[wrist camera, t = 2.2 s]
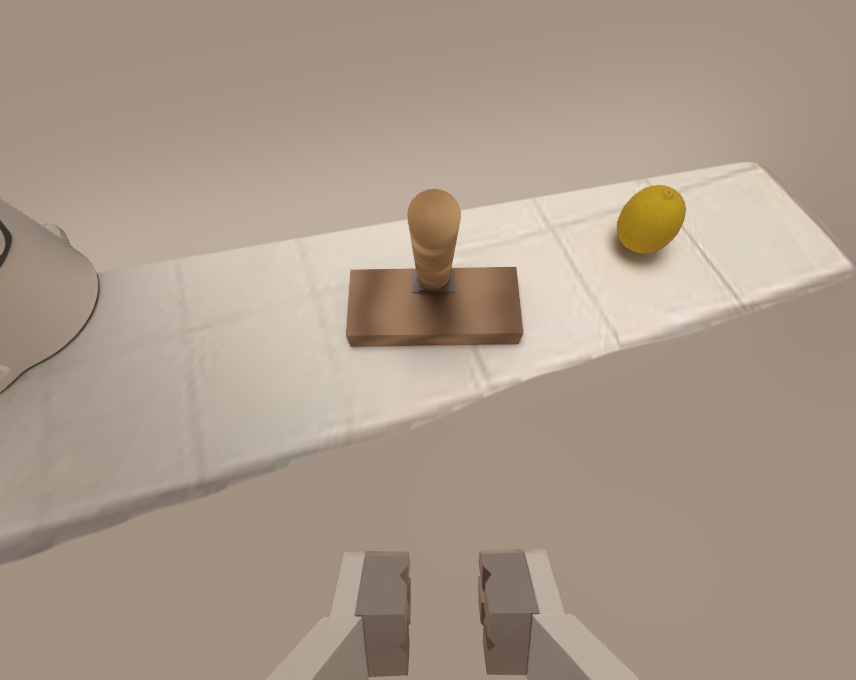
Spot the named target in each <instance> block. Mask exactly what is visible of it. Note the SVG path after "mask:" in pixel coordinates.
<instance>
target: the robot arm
mask: <svg viewBox="0 0 856 680" xmlns="http://www.w3.org/2000/svg"><path fill="white" fill-rule="evenodd" d="M97 294H98V278H97V274H96V271H95V269H94V267H93V265H92V263H91V262H90V261H89V260H88V259H87V258H86V257H85V256H84V255H83V254H81V253H80V252H78V251H77V250H75V249H74V248H73V247H72V246H71V245H70V243H69V240H68V238H67V236H66V234H65V233H64V231H63V230H62V229H60V228H59V227H57V226H55V225H53V224H43V225H41V224H39V223H38V222H36V221H35V220H33V219H32V218H30V217H29V216H27V215H26V214H24V213H23V212H21V211H20V210H18V209H17V208H15V207H14V206H12V205H11V204H9V203H8V202H6V201H4V200H3V199H1V198H0V392H1V391H2V390H3V389H5V388H6V387H7V386H8V385H9V384H10V383H12V382H13V381H14V380H15V379H16V378H17V377H18V376H19V375H20V374H21V373H22V372H23V371H25V370H26V369H28V368H29V367H31V366H33V365H35V364H37V363H39V362H40V361H42V360H44V359H46V358H48V357H49V356H51V355H53V354H54V353H56V352H57V351H58V350H60V349H61V348H62V347H63V346H65V345H66V344H67V343H68V342H69V341H70V340H71V339H72V338H73V337H74V336H75V335H76V334H77V333H78V332H79V331H80V329H81V328H82V327H83V325H84V324H85V323H86V321H87V319H88V318H89V316H90V314H91V312H92V310H93V308H94V305H95V302H96V299H97ZM479 568H480V576H479V579H478V580H479V581H478V591H479V610H480V620H481V624H482V625H483V626H484V627H483V646H484V654H485V662H486V671H487V674H493V675H494V674H495V675H527V679H528V680H640V679H638V678H637V677H636V676H635V675H634V674H633V673H632V672H631V671H630V670H629V669H628V668H627V667H626V666H625V665H624V664H623V663H622V662H621V661H620V660H619V659H618V658H617V657H616V656H615V655H614V654H613V653H612V652H611V651H610V650H609V649H608V648H607V647H606V646H605V645H604V644H603V643H602V642H601V641H600V640H599V639H598V638H597V637H596V636H595V635H594V634H593V633H592V632H590V631H589V630H588V629H587V628H586V627H585V626H584V625H583V624H582V623H581V622H580V621H579V620H578V619H577V618H576V617H575V616H574V615H573V614H566V613H565V610H564V607H563V603H562V600H561V597H560V593H559V590H558V587H557V584H556V580H555V578H554V574H553V571H552V568H551V564H550V561H549V558H548V555H547V552H546V551H545V550H544V549H526V550H520V549H519V550H481V551H480V553H479ZM409 570H410V561H409V552H377V551H367V552H347V551H345V553H344V555H343V557H342V561H341V565H340V570H339V574H338V578H337V583H336V587H335V591H334V596H333V600H332V605H331V610H330V614H329V617H322V618H321V619H320V620H319V621H318V622H317V623H316V624H315V626H314V627H313V628H312V629H311V630H310V631H309V632H308V633H307V634H306V635H305V636H304V638H303V639H302V640H301V641H300V642H299V643H298V644H297V645H296V646H295V647H294V649H293V650H292V651H291V652H290V653H289V654H288V655H287V656H286V657H285V658H284V659H283V661H282V662H281V663H280V664H279V665H278V666H277V667H276V668H275V669H274V671H273V672H272V673H271V674H270V675H269V676H268V677H267V678H266V679H265V680H368V677H377V676H401V675H408V663H409V625H410V613H411V586H410V585H411V583H410V582H411V581H410V577H409Z"/></svg>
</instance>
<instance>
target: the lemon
mask: <svg viewBox="0 0 856 680" xmlns="http://www.w3.org/2000/svg"><path fill="white" fill-rule="evenodd" d="M685 212H686V207H685V202H684V200H683V198H682V196H681V195H680V194H679V193H678V192H677V191H676V190H674V189H672V188H670V187H667V186H662V185H657V186H650V187H647V188H644V189H643V190H641V191H639V192H638V193H636V194H635V195H634V196H633V197H632V198H631V199H630V200H629V201H628V202H627V204H626V205H625V206H624V208H623V209H622V211H621V213H620V216H619V218H618V222H617V233H618V237H619V239H620V241H621V243H622V244H623V245H624V246H625V247H626V248H628V249H629V250H631V251H633V252H637V253H650V252H655V251H657V250H659V249H661V248H663V247H665V246H666V245H667V244H668V243H669V242H670V241H672V240H673V239H674V237H675V236H676V235H677V234H678V232H679V230H680V228H681V226H682V224H683V222H684V218H685Z"/></svg>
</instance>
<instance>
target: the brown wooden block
mask: <svg viewBox="0 0 856 680" xmlns="http://www.w3.org/2000/svg"><path fill="white" fill-rule="evenodd" d="M522 335H523V326H522V317H521V307H520V298H519V289H518V279H517V270H516V267H486V268H451V273H450V281H449V290H446V291H419V290H418V282H417V272H416V269H369V270H351V272H350V286H349V300H348V315H347V329H346V337H347V339H348V341H349V344H350V346H414V345H479V344H519V341H520V339H521V337H522Z"/></svg>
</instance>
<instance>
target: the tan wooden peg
mask: <svg viewBox="0 0 856 680" xmlns="http://www.w3.org/2000/svg"><path fill="white" fill-rule="evenodd" d="M407 216H408V224H409V230H410V236H411V242H412V248H413V254H414V260H415V266H416V272H417V282H418V290H419V291H446V290H449V281H450V273H451V267H452V262H453V257H454V251H455V246H456V241H457V235H458V230H459V224H460V219H461V211H460V208H459V205H458V203H457V201H456V200H455V198H454V197H453V196H452V195H450V194H449V193H447V192H445V191H443V190H439V189H430V190H426V191H423V192H421V193H419V194H418V195H417V196H416V197H415V198H414V199H413V200H412V202H411V203H410V205H409V208H408V215H407Z"/></svg>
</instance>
